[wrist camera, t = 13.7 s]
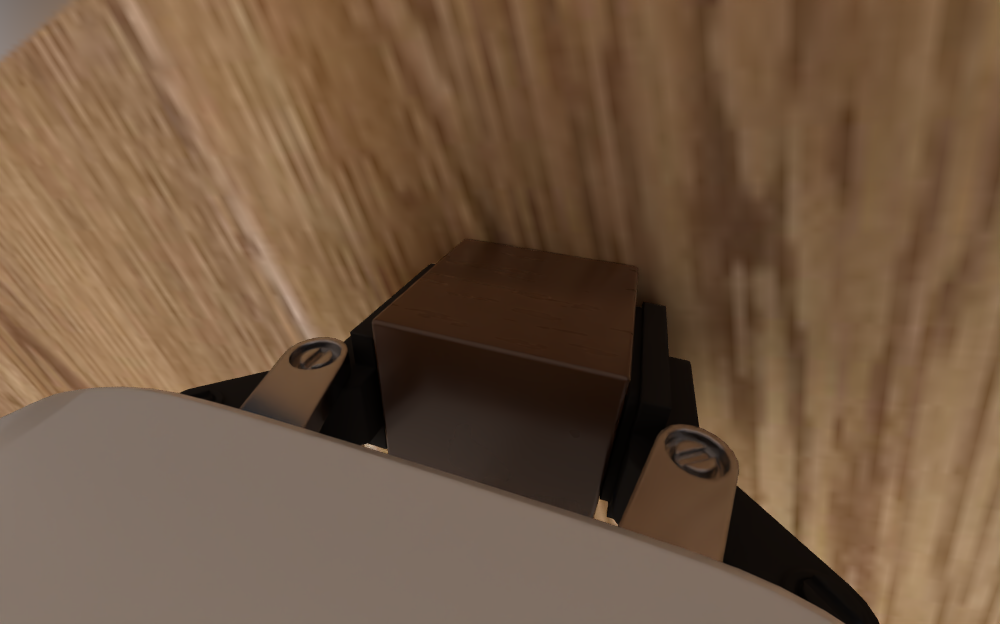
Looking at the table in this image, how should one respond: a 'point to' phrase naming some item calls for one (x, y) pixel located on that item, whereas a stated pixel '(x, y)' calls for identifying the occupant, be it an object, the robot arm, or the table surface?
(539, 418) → the block
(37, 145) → the table surface
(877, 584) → the table surface
